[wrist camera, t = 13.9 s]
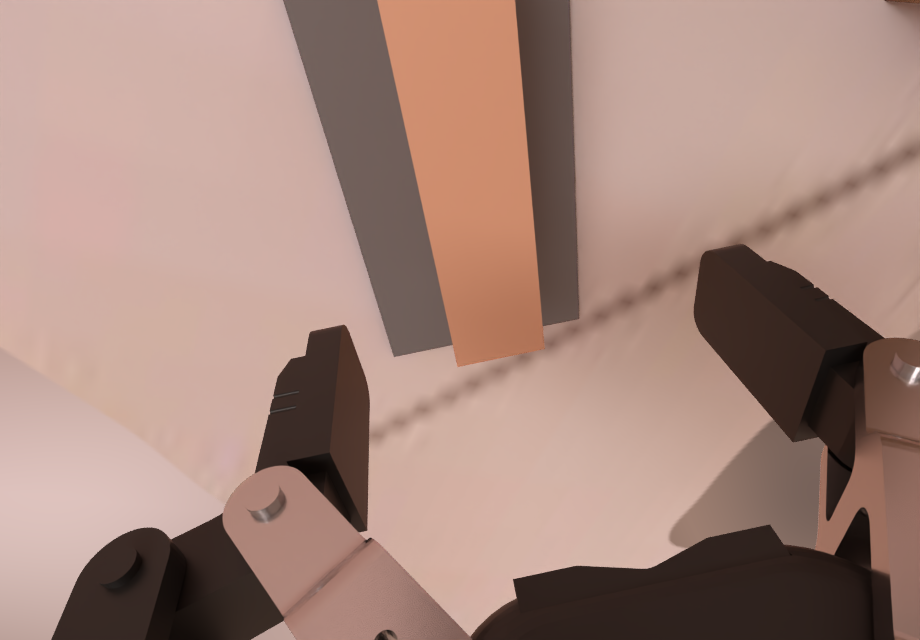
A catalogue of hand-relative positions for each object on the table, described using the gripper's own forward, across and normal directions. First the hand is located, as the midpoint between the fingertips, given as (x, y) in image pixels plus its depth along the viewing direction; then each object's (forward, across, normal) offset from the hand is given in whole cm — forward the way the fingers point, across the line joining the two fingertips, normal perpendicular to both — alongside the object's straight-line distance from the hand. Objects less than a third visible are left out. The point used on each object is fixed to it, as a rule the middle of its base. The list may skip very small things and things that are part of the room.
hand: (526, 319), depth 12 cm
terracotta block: (+16, 0, 0) cm, 16 cm away
